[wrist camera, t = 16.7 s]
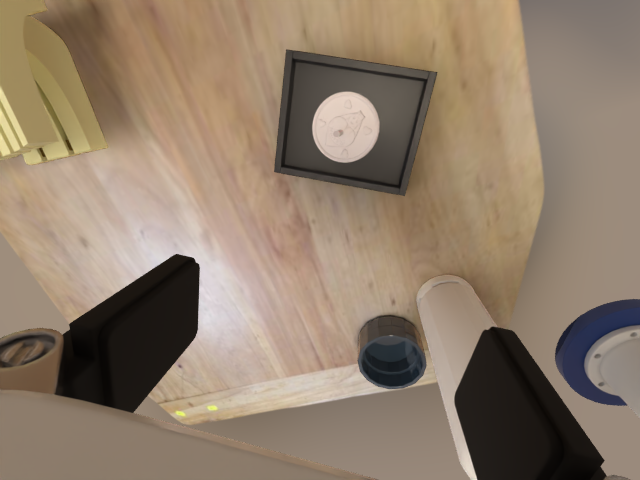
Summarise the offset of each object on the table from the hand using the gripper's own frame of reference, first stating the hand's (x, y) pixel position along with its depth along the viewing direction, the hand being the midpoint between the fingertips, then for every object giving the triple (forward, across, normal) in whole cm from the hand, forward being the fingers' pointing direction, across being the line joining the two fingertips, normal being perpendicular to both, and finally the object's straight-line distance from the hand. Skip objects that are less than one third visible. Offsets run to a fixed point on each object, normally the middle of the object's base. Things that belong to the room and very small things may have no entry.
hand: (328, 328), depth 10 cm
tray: (+33, +3, -6) cm, 33 cm away
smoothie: (+32, +2, -6) cm, 33 cm away
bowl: (+33, -10, +24) cm, 42 cm away
